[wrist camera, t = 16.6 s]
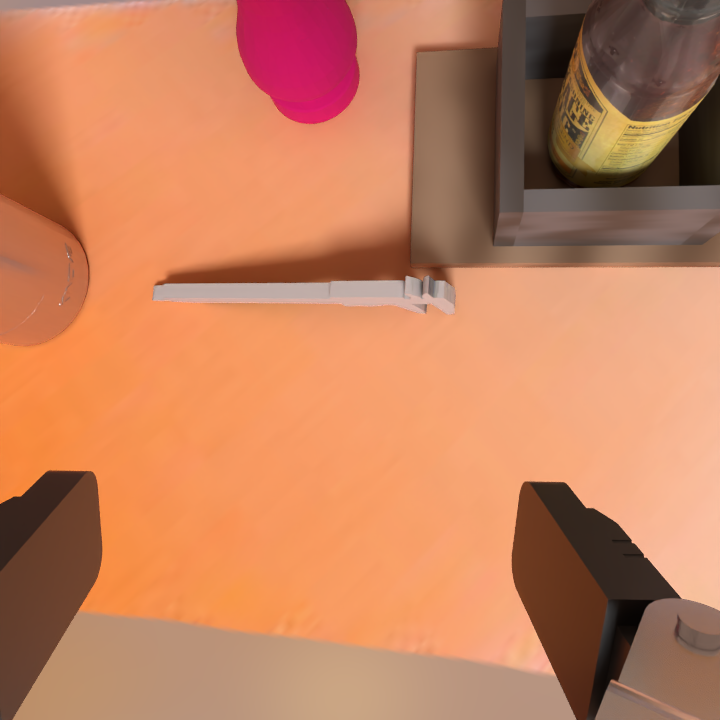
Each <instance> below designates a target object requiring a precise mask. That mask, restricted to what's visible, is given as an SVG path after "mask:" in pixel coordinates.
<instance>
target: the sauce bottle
mask: <svg viewBox="0 0 720 720" xmlns="http://www.w3.org/2000/svg"><path fill="white" fill-rule="evenodd" d="M719 74H720V0H593V1H592V3H591V4H590V6H589V8H588V10H587V12H586V15H585V18H584V20H583V24H582V27H581V29H580V32H579V35H578V38H577V42H576V45H575V48H574V50H573V54H572V57H571V60H570V62H569V66H568V69H567V73H566V76H565V78H564V82H563V84H562V88H561V90H560V95H559V98H558V101H557V104H556V107H555V110H554V113H553V116H552V120H551V123H550V126H549V131H548V145H547V146H548V152H549V157H550V161H551V164H552V167H553V168H554V171H555V173H556V175H557V177H558V178H560V179H561V180H562V181H563V182H565V183H566V184H567V185H569V186H571V187H573V188H620V187H624V186H626V185H629V184H630V183H632V182H633V181H635V180H636V179H638V177H639V176H640V175H641V174H642V173H643V172H644V171H645V170H646V169H647V168H648V167H649V166H650V164H651V163H652V162H653V161H654V159H655V158H656V157H657V156H658V155H659V153H660V152H661V151H662V150H663V148H664V147H665V146H666V145H667V143H668V142H669V141H670V140H671V138H672V137H673V136H674V135H675V133H676V132H677V131H678V130H679V128H680V127H681V126H682V125H683V123H684V122H685V121H686V120H687V118H688V117H689V116H690V115H691V113H692V112H693V111H694V110H695V108H696V107H697V106H698V105H699V103H700V102H701V101H702V100H703V98H704V97H705V96H706V95H707V93H708V92H709V91H710V89H711V88H712V87H713V85H714V83H715V81H716V80H717V78H718V76H719Z"/></svg>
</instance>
